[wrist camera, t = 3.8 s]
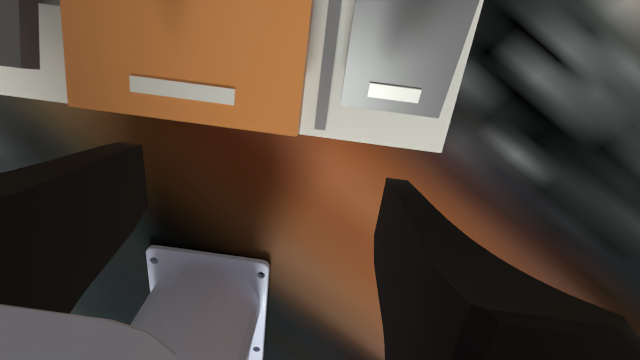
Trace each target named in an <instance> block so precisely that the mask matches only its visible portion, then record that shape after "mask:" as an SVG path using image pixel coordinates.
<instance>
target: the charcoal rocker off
mask: <svg viewBox="0 0 640 360" xmlns="http://www.w3.org/2000/svg"><path fill="white" fill-rule="evenodd" d="M0 66H7V67H14V68H23V69H38V70H40V48H39V7H38V0H0Z"/></svg>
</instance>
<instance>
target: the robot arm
mask: <svg viewBox="0 0 640 360" xmlns="http://www.w3.org/2000/svg"><path fill="white" fill-rule="evenodd" d="M147 206H148V200H147V190H146V180H145V170H144V160H143V150H142V145H137V144H130V143H122V142H121V143H113V144H108V145H104V146H100V147H96V148H93V149H89V150H85V151H82V152H78V153H75V154H71V155H68V156H64V157H61V158H57V159H54V160H50V161H47V162H43V163H39V164H35V165H31V166H27V167H23V168H20V169H16V170H12V171H7V172H3V173H0V360H263V356H264V342H265V327H266V313H267V299H268V285H269V271H270V265H269V263H268V262H267V261H265V260H261V259H254V258H246V257H239V256H232V255H224V254H217V253H210V252H202V251H195V250H188V249H180V248H173V247H166V246H158V245H151V246H150V247H149V248H148V249H147V251H146V258H147V267H148V276H149V285H150V294H149V296H148V297H147V299H146V301H145V302H144V304H143V305H142V307H141V309H140V310H139V312H138V314H137V315H136V317H135V318H134V320H133V322H132V323H131V325H127V324H124V323H120V322H117V321H114V320H111V319H104V318H96V317H89V316H82V315H75V314H70V312H71V311H72V309H73V308H74V306H75V305H76V303H77V301H78V300H79V299H80V297H81V296H82V295H83V293H84V292H85V291H86V289H87V288H88V287H89V285H90V284H91V283H92V282H93V280H94V279H95V278H96V277H97V275H98V274H99V273H100V272H101V271H102V269H103V268H104V267H105V266H106V264H107V263H108V262H109V261H110V259H111V258H112V257H113V256H114V255H115V253H116V252H117V251H118V250H119V248H120V247H121V246H122V245H123V243H124V242H125V241H126V240H127V238H128V237H129V236H130V234H131V233H132V232H133V230H134V229H135V227H136V225H137V224H138V222H139V220H140V219H141V217H142V215H143V213H144V211H145V209H146V208H147ZM153 257H154V258H156V259H157V260H155V259H154V258H153ZM374 266H375V274H376V281H377V289H378V296H379V303H380V310H381V317H382V324H383V332H384V344H385V360H640V337H639V336H638V334H637V333H636V332H635V330H634V329H633V328H632V327H631V325H630V324H629V323H628V321H627V320H626V319H625V317H623V316H621V315H619V314H616V313H614V312H611V311H609V310H606V309H604V308H601V307H598V306H596V305H593V304H591V303H588V302H586V301H583V300H581V299H578V298H576V297H573V296H571V295H569V294H566V293H564V292H562V291H560V290H558V289H556V288H554V287H552V286H549V285H547V284H545V283H543V282H541V281H539V280H537V279H535V278H533V277H531V276H529V275H527V274H526V273H524V272H522V271H520V270H519V269H517V268H515V267H513V266H512V265H510V264H508V263H506V262H505V261H503V260H501V259H500V258H498V257H497V256H495V255H493V254H492V253H490V252H489V251H487V250H486V249H485V248H483V247H482V246H480V245H479V244H478V243H476V242H475V241H473V240H472V239H471V238H469V237H468V236H467V235H465V234H464V233H463V232H462V231H461V230H459V229H458V228H457V227H456V226H455V225H453V224H452V223H451V222H450V221H449V220H448V219H447V218H445V217H444V216H443V215H442V214H441V213H440V212H439V211H438V210H437V209H436V208H435V207H434V206H433V205H432V204H431V203H430V202H429V201H428V200H427V199H426V198H425V197H424V196H423V195H422V194H421V193H420V192H419V191H418V190H417V189H416V188H415V187H414V186H413V185H412V184H411V183H410V182H409V181H407V180H399V179H392V178H386V182H385V187H384V192H383V196H382V201H381V206H380V210H379V215H378V220H377V224H376V229H375V234H374ZM259 272H262V273H264V274H260V273H259Z"/></svg>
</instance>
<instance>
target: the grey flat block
mask: <svg viewBox="0 0 640 360" xmlns="http://www.w3.org/2000/svg"><path fill="white" fill-rule="evenodd" d="M479 1H480V0H355V4H354V11H353V18H352V25H351V32H350V39H349V46H348V53H347V60H346V67H345V73H344V80H343V87H342V95H341V103H340V106H348V107H355V108H363V109H371V110H378V111H386V112H393V113H401V114H409V115H416V116H424V117H431V118H439V116H440V113H441V110H442V107H443V104H444V102H445V99H446V96H447V93H448V90H449V87H450V84H451V81H452V79H453V76H454V73H455V70H456V67H457V64H458V61H459V58H460V55H461V53H462V50H463V47H464V44H465V41H466V38H467V35H468V32H469V30H470V27H471V24H472V21H473V18H474V15H475V12H476V9H477V7H478V4H479Z"/></svg>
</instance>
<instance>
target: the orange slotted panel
mask: <svg viewBox="0 0 640 360" xmlns="http://www.w3.org/2000/svg"><path fill="white" fill-rule="evenodd" d="M313 5H314V0H60V8H61V21H62V34H63V47H64V61H65V74H66V87H67V100H68V106H69V107H76V108H84V109H91V110H99V111H106V112H114V113H121V114H129V115H137V116H144V117H152V118H159V119H167V120H174V121H182V122H189V123H197V124H204V125H212V126H219V127H227V128H234V129H242V130H250V131H257V132H265V133H272V134H280V135H287V136H295V137H297V136H298V134H299V132H300V125H301V116H302V106H303V97H304V88H305V79H306V70H307V60H308V51H309V42H310V33H311V24H312V14H313Z"/></svg>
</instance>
